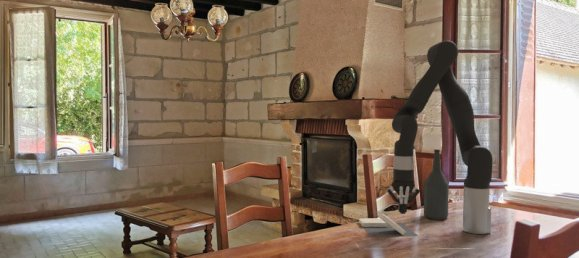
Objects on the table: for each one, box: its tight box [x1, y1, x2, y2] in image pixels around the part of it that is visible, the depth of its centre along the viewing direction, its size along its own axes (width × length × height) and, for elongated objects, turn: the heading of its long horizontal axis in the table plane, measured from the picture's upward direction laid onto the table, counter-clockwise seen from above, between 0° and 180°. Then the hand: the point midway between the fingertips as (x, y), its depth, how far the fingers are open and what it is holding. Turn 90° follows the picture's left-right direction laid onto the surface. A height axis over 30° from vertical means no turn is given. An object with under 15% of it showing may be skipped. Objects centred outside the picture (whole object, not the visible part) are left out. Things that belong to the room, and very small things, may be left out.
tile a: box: [358, 217, 388, 228], centre depth 188 cm, size 2×8×10 cm
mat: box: [360, 221, 419, 238], centre depth 181 cm, size 18×22×1 cm
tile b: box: [377, 211, 406, 235], centre depth 176 cm, size 2×8×10 cm
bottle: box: [423, 149, 450, 221], centre depth 203 cm, size 10×10×30 cm
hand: (402, 213), depth 176 cm, fingers closed
